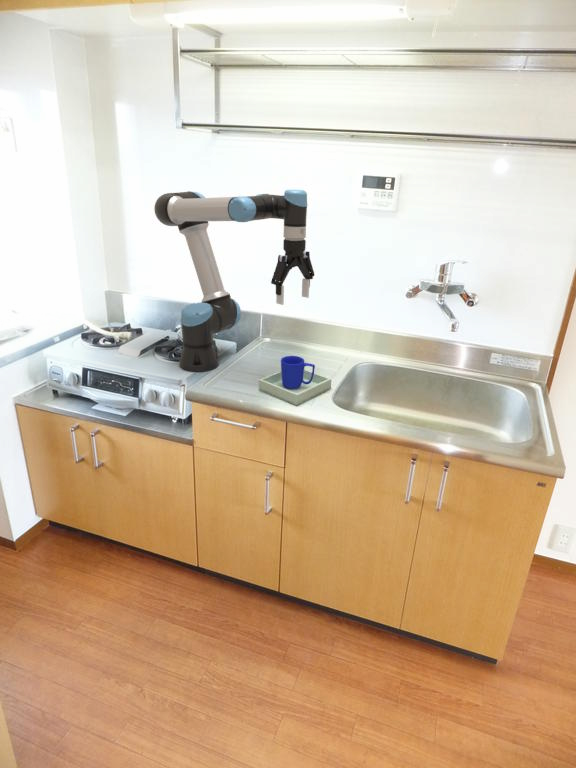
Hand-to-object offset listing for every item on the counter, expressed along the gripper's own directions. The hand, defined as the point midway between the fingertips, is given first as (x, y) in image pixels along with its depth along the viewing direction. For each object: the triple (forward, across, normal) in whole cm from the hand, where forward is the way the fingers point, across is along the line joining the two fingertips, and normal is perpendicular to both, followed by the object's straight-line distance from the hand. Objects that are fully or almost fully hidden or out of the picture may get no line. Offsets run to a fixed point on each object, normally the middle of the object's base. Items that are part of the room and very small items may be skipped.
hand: (292, 300), depth 179 cm
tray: (+29, -9, -10) cm, 32 cm away
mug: (+28, -8, -10) cm, 31 cm away
